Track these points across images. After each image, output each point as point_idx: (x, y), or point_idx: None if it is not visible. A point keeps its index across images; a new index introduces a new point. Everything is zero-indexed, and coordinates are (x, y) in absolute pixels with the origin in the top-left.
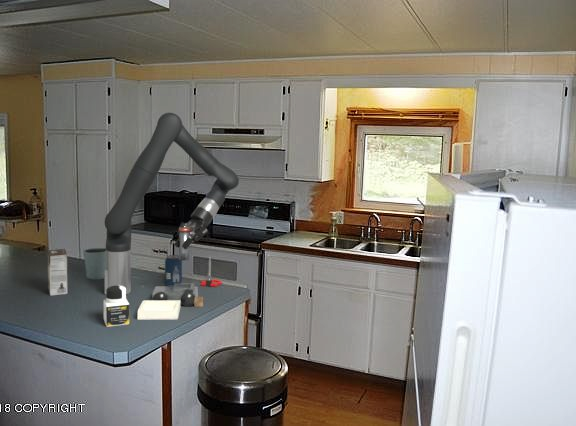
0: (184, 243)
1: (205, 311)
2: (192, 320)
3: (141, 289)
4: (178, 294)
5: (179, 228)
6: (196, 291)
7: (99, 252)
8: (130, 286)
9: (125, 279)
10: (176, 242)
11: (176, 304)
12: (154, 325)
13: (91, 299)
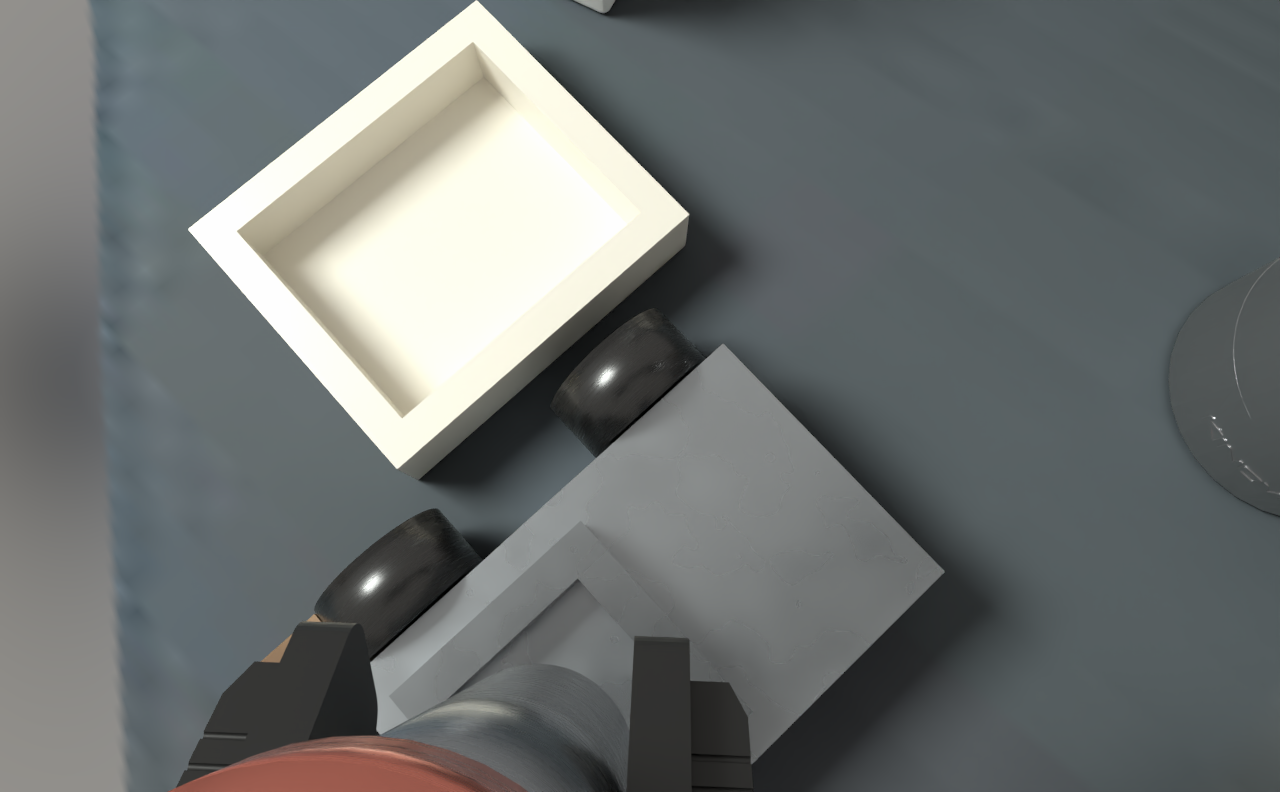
0: (285, 693)
1: (158, 584)
2: (100, 326)
3: (1238, 639)
4: (505, 541)
5: (429, 783)
6: None
7: None
8: (1250, 468)
9: (1276, 347)
10: (650, 681)
11: (332, 347)
12: (279, 51)
13: (1246, 101)
